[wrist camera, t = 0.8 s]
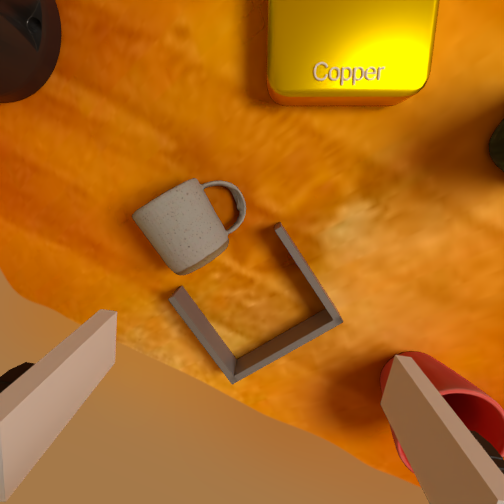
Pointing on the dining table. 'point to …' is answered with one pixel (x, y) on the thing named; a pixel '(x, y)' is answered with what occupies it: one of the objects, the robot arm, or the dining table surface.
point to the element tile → (349, 51)
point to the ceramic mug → (187, 225)
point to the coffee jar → (498, 146)
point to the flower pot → (457, 401)
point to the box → (272, 348)
